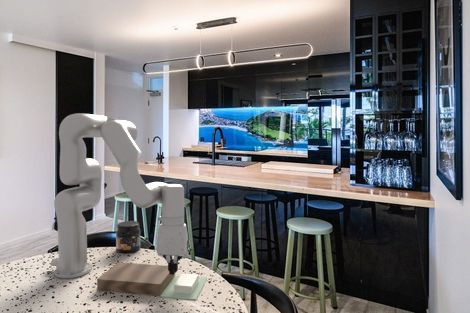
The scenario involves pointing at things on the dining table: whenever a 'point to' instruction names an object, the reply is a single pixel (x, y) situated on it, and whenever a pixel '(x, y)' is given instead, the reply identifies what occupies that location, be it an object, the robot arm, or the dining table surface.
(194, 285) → the white rectangular block
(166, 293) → the mat
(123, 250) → the supplement container
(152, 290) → the deck
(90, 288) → the dining table surface
